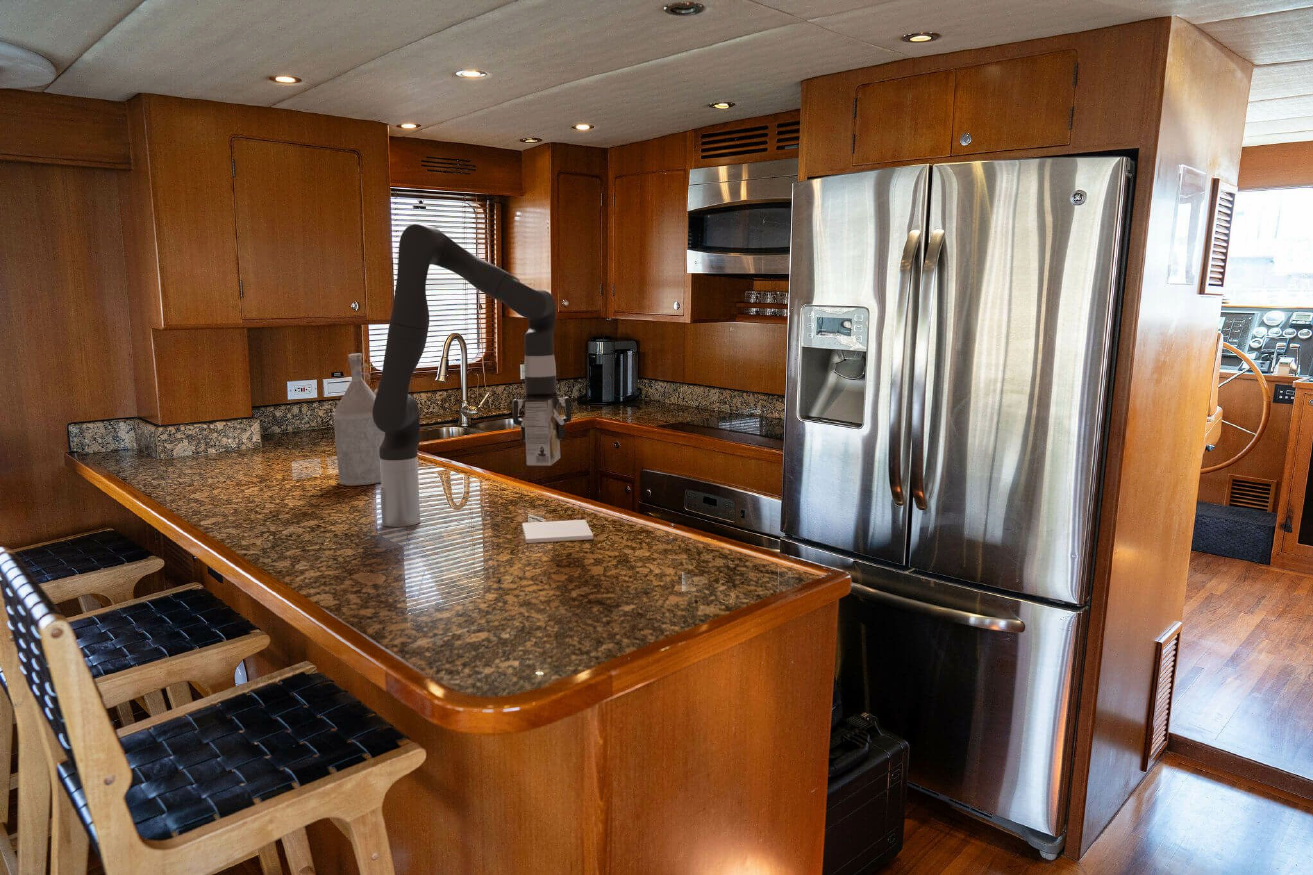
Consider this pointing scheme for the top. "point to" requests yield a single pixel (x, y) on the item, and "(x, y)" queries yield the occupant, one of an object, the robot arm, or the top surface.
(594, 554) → the top surface
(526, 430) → the coffee box
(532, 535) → the mat
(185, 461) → the top surface
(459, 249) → the robot arm
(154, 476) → the top surface
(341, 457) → the grey bottle
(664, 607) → the top surface
